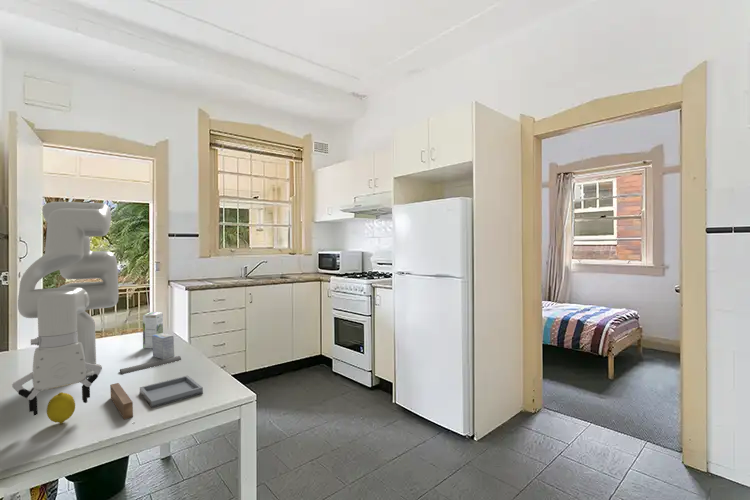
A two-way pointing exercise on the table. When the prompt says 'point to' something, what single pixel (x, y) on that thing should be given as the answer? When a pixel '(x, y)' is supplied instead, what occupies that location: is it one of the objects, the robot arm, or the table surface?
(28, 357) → the table surface
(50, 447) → the table surface
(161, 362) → the half round rod
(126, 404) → the walnut wall
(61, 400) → the lemon
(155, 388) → the gray tray
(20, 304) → the robot arm
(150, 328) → the syrup box
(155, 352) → the medicine box
